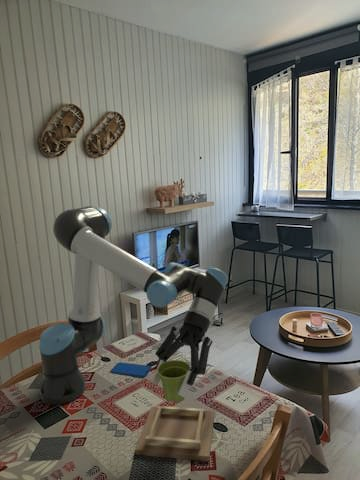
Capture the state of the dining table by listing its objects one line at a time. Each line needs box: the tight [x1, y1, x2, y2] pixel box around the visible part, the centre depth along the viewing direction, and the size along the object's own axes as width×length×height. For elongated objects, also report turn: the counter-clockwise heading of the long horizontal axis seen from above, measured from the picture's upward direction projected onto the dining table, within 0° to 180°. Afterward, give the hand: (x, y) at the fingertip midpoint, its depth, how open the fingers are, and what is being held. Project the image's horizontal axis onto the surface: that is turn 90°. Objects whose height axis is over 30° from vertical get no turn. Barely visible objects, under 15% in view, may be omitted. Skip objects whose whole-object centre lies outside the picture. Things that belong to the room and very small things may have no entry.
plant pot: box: [157, 359, 191, 404], centre depth 100 cm, size 9×9×9 cm
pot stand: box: [134, 405, 215, 462], centre depth 103 cm, size 20×18×4 cm
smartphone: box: [109, 361, 153, 378], centre depth 138 cm, size 7×1×15 cm
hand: (167, 389), depth 98 cm, fingers closed on plant pot, 9 cm apart
